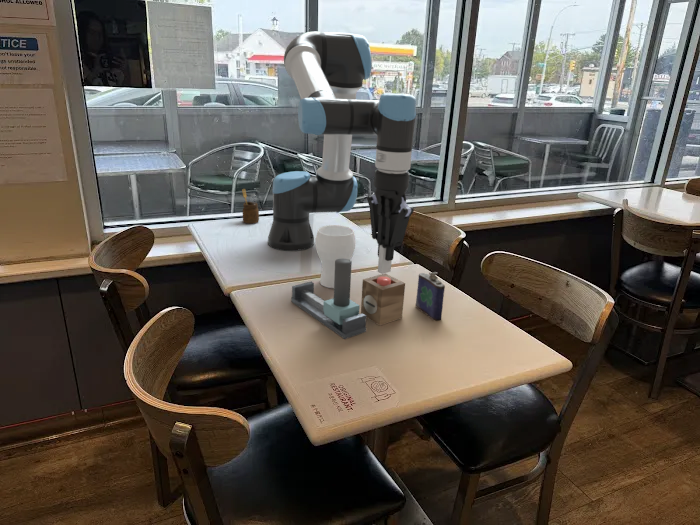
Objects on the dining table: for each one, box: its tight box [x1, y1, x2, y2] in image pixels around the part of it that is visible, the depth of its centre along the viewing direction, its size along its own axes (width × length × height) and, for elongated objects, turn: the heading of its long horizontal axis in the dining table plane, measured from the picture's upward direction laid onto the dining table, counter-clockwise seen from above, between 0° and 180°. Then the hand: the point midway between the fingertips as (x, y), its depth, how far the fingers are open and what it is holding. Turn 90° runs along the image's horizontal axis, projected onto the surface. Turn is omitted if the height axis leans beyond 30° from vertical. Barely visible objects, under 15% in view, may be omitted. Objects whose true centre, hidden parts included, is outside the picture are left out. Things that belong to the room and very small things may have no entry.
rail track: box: [291, 281, 367, 340], centre depth 116 cm, size 22×6×4 cm, turn 38°
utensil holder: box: [241, 188, 260, 225], centre depth 183 cm, size 6×6×12 cm
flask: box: [415, 271, 446, 322], centre depth 119 cm, size 9×3×11 cm, turn 27°
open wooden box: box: [360, 273, 406, 326], centre depth 116 cm, size 7×8×9 cm
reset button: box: [377, 277, 391, 286], centre depth 115 cm, size 3×3×4 cm
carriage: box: [323, 259, 361, 325], centre depth 110 cm, size 6×6×13 cm
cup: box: [314, 224, 357, 289], centre depth 133 cm, size 11×11×15 cm
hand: (384, 271), depth 114 cm, fingers closed
